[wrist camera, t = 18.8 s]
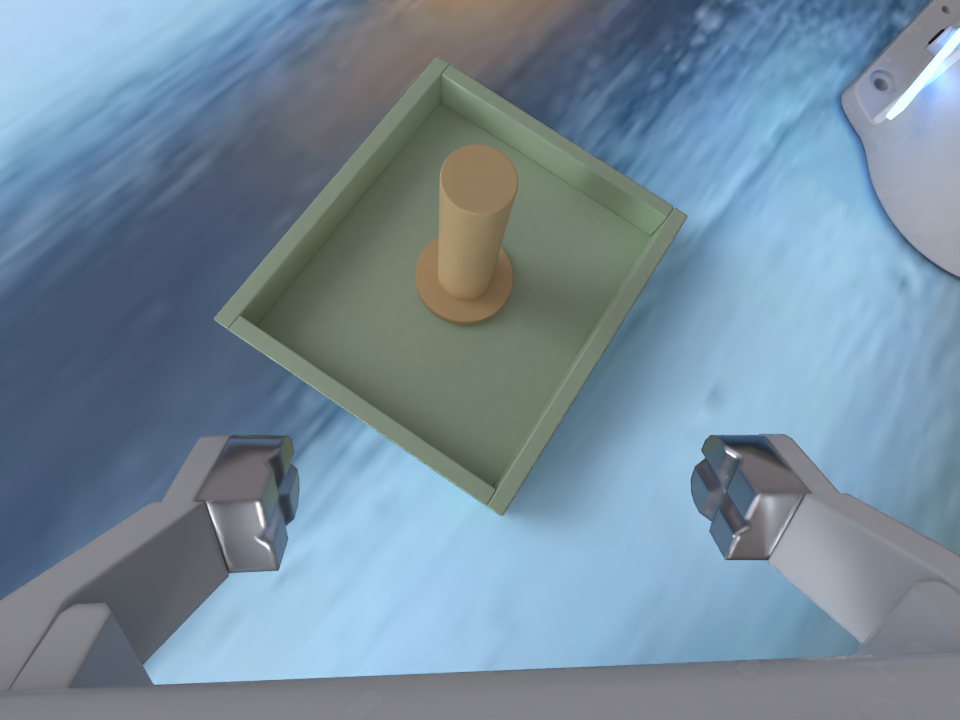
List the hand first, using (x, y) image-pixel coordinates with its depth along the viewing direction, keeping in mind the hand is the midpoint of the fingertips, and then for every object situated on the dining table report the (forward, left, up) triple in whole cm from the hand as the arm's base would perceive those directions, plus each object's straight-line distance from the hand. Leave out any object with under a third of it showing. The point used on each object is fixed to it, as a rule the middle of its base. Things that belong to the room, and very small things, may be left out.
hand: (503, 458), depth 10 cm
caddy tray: (-8, -5, -15) cm, 17 cm away
